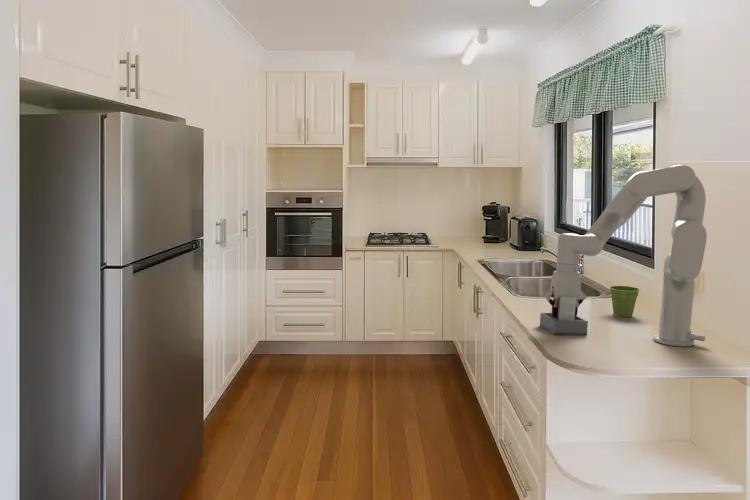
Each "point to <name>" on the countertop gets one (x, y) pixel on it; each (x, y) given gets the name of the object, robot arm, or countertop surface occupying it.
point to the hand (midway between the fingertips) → (564, 316)
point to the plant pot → (623, 300)
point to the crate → (563, 325)
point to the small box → (566, 309)
